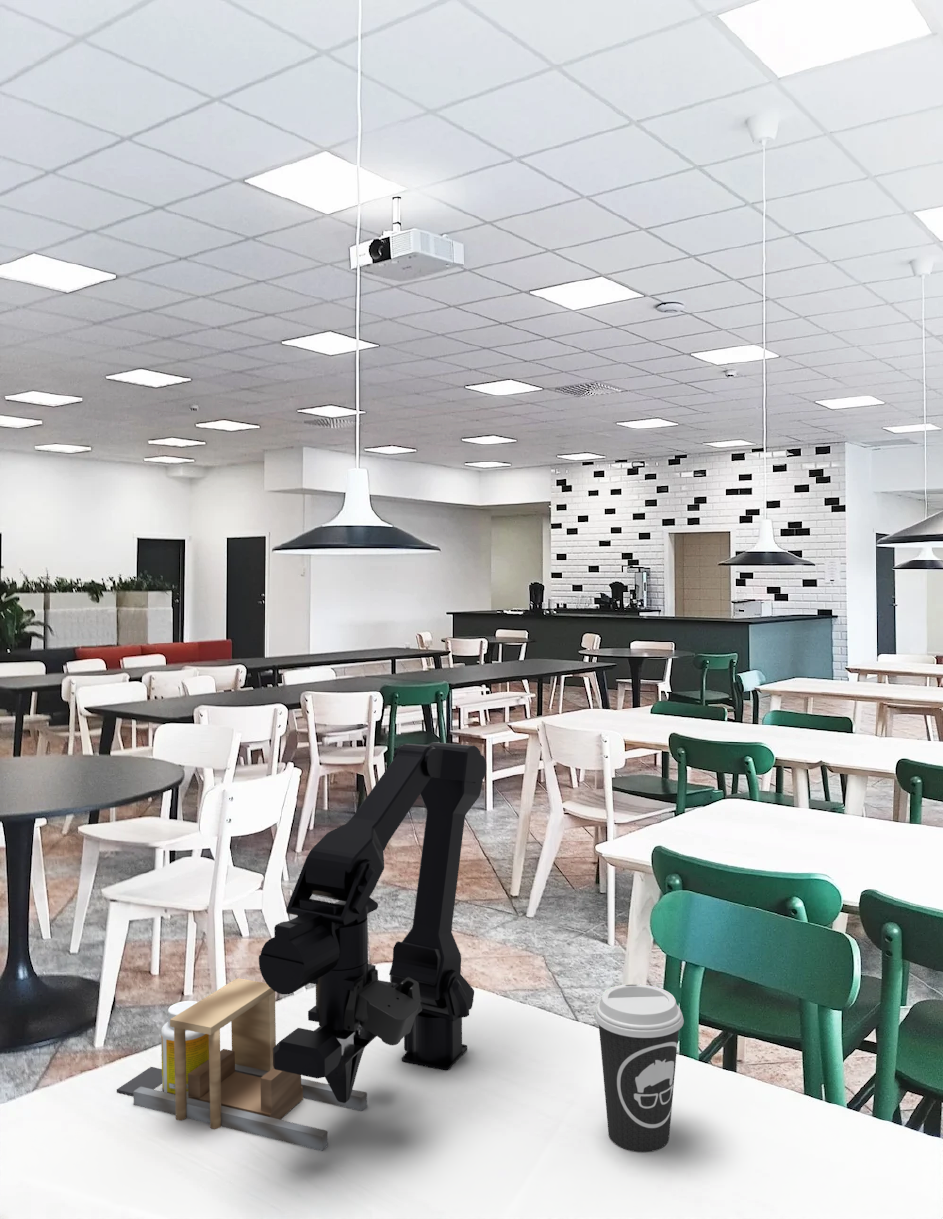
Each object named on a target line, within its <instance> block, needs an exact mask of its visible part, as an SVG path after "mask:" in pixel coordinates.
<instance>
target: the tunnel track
mask: <svg viewBox="0 0 943 1219" xmlns="http://www.w3.org/2000/svg"><path fill="white" fill-rule="evenodd" d="M229 1023H231V1024H230V1025H231V1027H230V1028H231V1051H235V1072H238V1073H243V1074H247V1075H252V1076H256V1077H262V1076H264V1075H265V1074H266V1073H267V1072H269V1071H270V1070H271V1069H272V1068H274V1067H273V1048H274V1047H275V1046H276V1045H277V1041H276V1040H277V1036H276V1035H277V1034H276V1033H277V1032H276V1030H277V1029H276V1027H277V1026H276V1024H277V1023H276V992H275V991H274V990H272V989H271V988H270V987H269V986H268V985H267V983H266V982H261V981H256V980H251V979H244V978H238V977H237V978H235V979H233V980H232V981H230V982H229V983H227V984H225V985H224V986H222V987H220V988H219V989H217V990H215V991H213V992H212V993H211V994H209V995H208V996H205V997H203V998H202V999H201V1000H199V1001H197V1003H196V1004H194V1005H193V1006H191V1007H189V1008H188V1009H186V1010H185V1011H183V1012H181V1013H180V1014H178V1015H176V1016H175V1017H173V1018H172V1019H170V1027H174V1053H175V1095H174V1094H170V1093H166V1092H163V1091H161V1090H157V1089H154V1090H153V1089H149V1088H145V1087H139V1088H138V1089H136V1090H135V1091H133V1094H134V1096H133V1106H134V1105H135V1106H137V1107H142V1108H145V1109H146V1108H147V1109H149V1110H154V1111H158V1112H162V1113H166V1114H170V1115H174V1116H175V1120H176V1121H184V1120H186V1119H191V1120H195V1121H198V1122H203V1123H207V1124H209V1126H210V1129H212V1130H217V1129H220V1128H227V1129H231V1130H236V1131H240V1132H243V1133H248V1134H251V1135H255V1136H259V1137H264V1138H268V1139H270V1140H271V1139H272V1140H275V1141H280V1142H282V1143H283V1142H284V1143H288V1144H293V1145H296V1146H300V1147H303V1148H307V1149H312V1150H316V1151H320V1152H323V1151H324V1150H325V1149H326V1147H328V1145H329V1130H326V1129H321V1128H317V1127H313V1126H308V1125H305V1124H301V1123H296V1122H291V1121H287V1120H284V1119H276V1118H271V1117H267V1116H263V1115H259V1114H255V1113H250V1112H246V1111H242V1110H238V1109H233V1108H229V1107H225V1106H221V1067H220V1051H221V1029H222V1028H224V1027H225V1026H227V1025H228V1024H229ZM185 1030H189V1031H194V1032H199V1033H204V1034H209V1082H210V1103H208V1102H204V1101H200V1100H195V1099H191V1098H187V1096H186V1043H185ZM301 1086H302V1087H303V1099H306V1100H312V1101H316V1102H320V1103H324V1104H329V1105H333V1106H336V1107H337V1106H338V1107H341V1108H342V1107H343V1108H346V1109H352V1110H355V1111H360V1112H362V1111H364V1110H365V1109H366V1107H367V1106H368V1092H366V1091H362V1090H356V1089H354V1088H353V1089H352V1093H351V1096H350V1099H349V1100H348V1101H347V1102H346V1103H342V1102H338V1101H337V1099H336V1097H335V1095H334V1093H333V1091H332V1089H331V1088H330V1086H329V1084H328V1083H324V1082H319V1081H315V1080H311V1079H305V1078H302V1077H301Z"/></svg>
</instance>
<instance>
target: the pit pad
mask: <svg viewBox="0 0 943 1219" xmlns="http://www.w3.org/2000/svg"><path fill="white" fill-rule="evenodd" d="M159 1086H162V1068H159V1067H154V1066H150V1067H148V1068H147V1069H145V1070H144V1071H143V1072H141V1073H139V1074H138V1075H136V1076H134V1077H133V1078H132V1079H130V1080H129V1081H128V1082H126V1083H124V1084H122V1085H121V1086H119V1087H118V1088H117V1089H116V1092H117V1093H120V1094H124V1095H127V1096H131V1097H134V1094H133V1091H135V1090H136V1089H138V1088H139V1087H145V1088H149V1089H153V1090H156V1088H158V1087H159Z"/></svg>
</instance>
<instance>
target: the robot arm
mask: <svg viewBox="0 0 943 1219" xmlns="http://www.w3.org/2000/svg"><path fill="white" fill-rule="evenodd" d="M486 774H487V761H486V758H485V756H484V755H482V754H481V750H480V749H479V748H478V747H477V746H476V745H472V744H471V745H468V744H459V743H449V742H447V743H446V742H437V741H436V742H435V741H433V742H430V743H429V744H419V743H418V744H417V743H408V742H407V743H403V744H402V745H399V746H397V748H396V749H395V751H394V752H393V758H392V762H390V764H389V766H387V768H386V770H385V771H384V772H383V774H382V775H381V776H380V778H379V780H377V782H376V783H375V785H374V786H373V788H372V789H371V790H370V792H369V794H368V795H367V797H365V799H364V800H363V802H362V803H361V805H360V806H359V807H358V809H357V810H356V811H355V813H354V815H353V816H352V817H351V818H350V819H349V820H348V821H347V822H346V823H344V824H343V825H340V826H339V827H337V828H335V829H332V830H330V831H328V832H327V833H326V834H325V835H324V836H323V837H322V838H321V839H320V840H319V841H318V842H317V843H316V844H315V845H314V846H313V847H312V849H311V850H310V851H309V852H308V853H307V856H306V858H305V860H304V862H303V865H302V868H301V871H300V873H299V875H298V878H297V881H296V883H295V885H294V886H295V887H294V888H293V891H292V893H291V897H290V899H289V901H288V904H287V906H286V908H285V909H286V910H285V911H286V914H288V915H293V916H296V917H294V918H292V919H290V920H287V921H281V922H280V923H277V924H275V926H274V928H273V929H274V932H273V933H274V937H272V938H269V939H268V940H267V941H266V942H265V943H264V945H263V947H262V948H261V950H260V951H261V953H260V954H259V955H258V965H259V970H260V974H261V977H262V978H263V981H264V983H267V985H268V986H269V987H270V988H271V989H272V990H274V991H275V993H277V994H279V995H291V994H294V993H295V992H297V991H298V990H300V989H302V988H304V987H306V986H307V985H309V984H313V985H315V1005H314V1006H313V1007H312V1008H311V1009H309V1010H308V1011H307V1012H308V1013H307V1019H308V1020H307V1021H308V1022H309V1021H310V1022H315V1023H318V1027H317V1028H316V1029H314V1030H311V1029H307V1028H302V1027H297V1028H296V1029H294V1030H293V1031H292V1032H290V1033H289V1034H288V1035H286V1036H284V1038H282V1039H281V1040H280V1041H279V1042H278V1043H276V1046H275V1047H274V1048H273V1067H274V1069H276V1070H280V1071H285V1072H289V1073H294V1074H299V1075H301V1076H304V1077H308V1078H314V1079H322V1078H325V1080H326V1082H327V1084H329V1086H330V1088H331V1089H332V1091H333V1093H334V1095H335V1097H336V1099H337V1101H338V1102H342V1103H346V1102H347V1101H348V1100H349V1099H350V1096H351V1093H352V1089H353V1090H354V1084H355V1082H356V1078H357V1074H358V1070H359V1066H360V1063H361V1060H362V1056H363V1053H364V1050H365V1048H366V1047H367V1046H368V1045H369V1044H370V1043H371V1042H372V1041H373V1040H374V1039H376V1038H377V1037H378V1038H379V1039H381V1041H382V1042H383V1043H384V1044H386V1045H389V1046H396V1045H398V1044H399V1043H400V1042H401V1040H403V1049H404V1052H406V1053H405V1054H404V1055H402V1057H401V1062H402V1063H406V1064H409V1065H410V1064H411V1065H416V1066H420V1067H426V1068H431V1069H436V1070H440V1071H450V1070H451V1069H452V1067H453V1066H455V1064H456V1063H457V1061H459V1060H460V1058H461V1057H462V1056H464V1055H465V1053H467V1051H468V1050H469V1049H468V1048H469V1047H468V1045H467V1044H464V1043H463V1018H467V1017H469V1016H470V1010H472V1008H473V1003H474V996H475V990H474V988H473V987H472V986H471V984H470V983H469V982H468V981H467V980H466V979H465V977H464V976H463V974H461V972H462V971H461V969H462V965H461V964H462V954H461V952H460V950H459V947H458V945H457V943H456V939H455V937H454V935H453V930H452V929H453V920H454V912H455V904H456V903H455V902H456V895H457V888H458V887H457V886H458V878H459V871H460V870H459V869H460V864H461V863H460V861H461V853H462V845H463V844H462V843H463V837H464V828H465V827H464V826H465V819H466V815H467V813H468V812H469V811H470V809H472V807H473V806H474V804H475V803H476V802H477V800H478V799H479V798H480V796H481V793H482V786H483V782H484V779H485V777H486ZM419 797H420V798H421V799H422V803H423V805H424V807H425V809H426V816H425V826H424V832H423V840H422V848H421V856H420V864H419V871H418V872H419V874H418V880H417V888H416V895H415V896H416V897H415V905H414V913H413V920H412V927H411V929H410V930H409V931H408V933H407V935H406V936H405V937H404V938H403V940H402V941H399V940H398V941H396V942H395V944H394V946H393V948H392V962H391V968H390V970H389V973H388V974H389V981H385V980H379V970H378V969H376V968H377V967H376V964H375V965H374V964H370V963H369V936H368V935H369V932H368V931H369V930H368V929H369V928H368V926H369V925H368V924H369V923H368V922H369V920H368V916H369V914H370V913H372V912H374V911H376V910H377V909H378V907H379V904H378V902H376V901H375V900H374V899H373V898H371V895H372V894H373V892H374V890H375V888H376V886H377V884H378V882H379V881H380V879H381V876H382V874H383V872H384V870H385V858H384V857H385V855H384V851H385V849H386V848H387V845H388V843H389V842H390V840H391V839H392V837H393V836H394V835H395V833H396V831H397V830H398V828H399V826H400V825H401V823H403V821H404V819H405V817H406V816H407V815H408V813H409V812H410V810H411V809H412V807H413V805H414V804H415V802H416V801H417V799H418V798H419ZM312 896H315V897H319V898H325V899H331V900H335V901H337V902H334V903H333V902H329V901H324V900H317V899H313V898H312Z"/></svg>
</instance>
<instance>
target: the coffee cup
mask: <svg viewBox="0 0 943 1219" xmlns="http://www.w3.org/2000/svg"><path fill="white" fill-rule="evenodd" d="M593 1019H594V1020H595V1023H596V1024H597V1025H598V1030H599V1031H598V1032H599V1040H600V1042H599V1043H600V1052H601V1054H600V1055H601V1063H602V1064H601V1065H602V1076H603V1086H604V1095H605V1096H604V1097H605V1098H604V1099H605V1108H606V1120H607V1130H608V1131H607V1133H608V1134H607V1135H608V1137H609V1139H610V1141H611V1142H612V1143H614V1144H615V1145H616V1146H618V1147H620V1148H623V1150H624V1149H625V1150H627V1151H631V1152H637V1153H647V1152H650V1153H651V1152H654V1151H658V1150H660V1149H662V1148H664V1147H666V1145H667V1144H668V1143H669V1141H670V1133H671V1121H672V1120H671V1119H672V1109H673V1097H674V1096H673V1095H674V1088H675V1087H674V1085H675V1076H676V1075H675V1073H676V1063H677V1062H676V1061H677V1051H678V1040H679V1032H680V1029H682V1027H683V1026H684V1023H685V1020H684V1016H683V1013H682V1010H681V1008H680V1006H679V1005H678V1004H677V1000H676V998H675V997H674V995H673V994H672V993H670V992H669V991H667V990H665V989H663V988H660V987H657V986H653V985H648V984H640V983H639V984H638V983H629V984H628V983H627V984H625V983H624V984H620V985H615V986H612V987H610V988H609V987H608V988H607V989H606V990H605V991H603V992H602V994H601V997H600V999H599V1001H598V1002H597V1004H596V1007H595V1008H594V1012H593Z"/></svg>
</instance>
